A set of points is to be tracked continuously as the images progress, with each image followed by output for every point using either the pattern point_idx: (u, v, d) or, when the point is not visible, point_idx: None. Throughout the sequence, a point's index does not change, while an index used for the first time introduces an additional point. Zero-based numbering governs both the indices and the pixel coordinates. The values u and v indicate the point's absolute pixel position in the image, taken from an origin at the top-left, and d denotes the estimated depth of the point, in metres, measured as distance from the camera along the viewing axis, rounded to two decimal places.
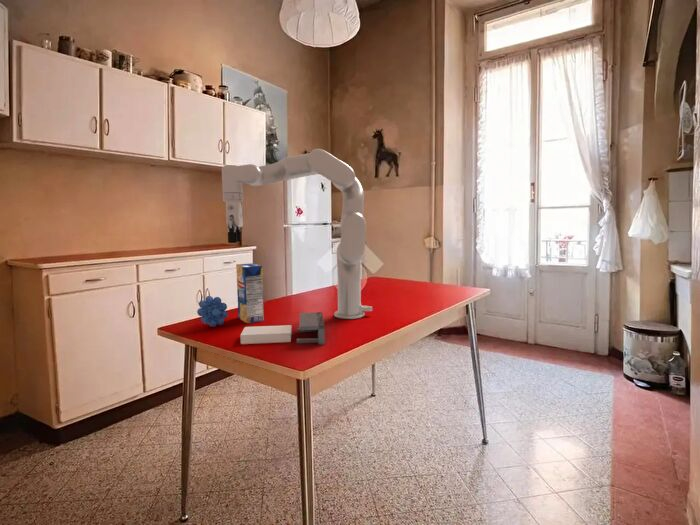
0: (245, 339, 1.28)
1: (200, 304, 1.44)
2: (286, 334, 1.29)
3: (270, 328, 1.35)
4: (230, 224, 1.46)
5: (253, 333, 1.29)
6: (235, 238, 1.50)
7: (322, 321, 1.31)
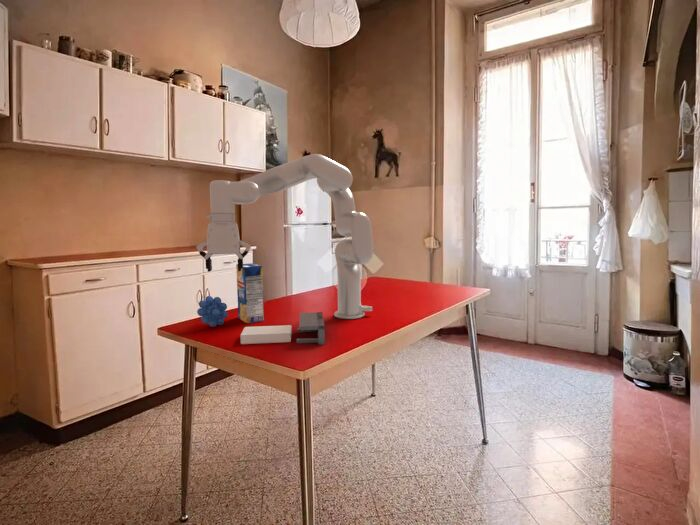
0: (245, 339, 1.28)
1: (200, 304, 1.44)
2: (286, 334, 1.29)
3: (270, 328, 1.35)
4: None
5: (253, 333, 1.29)
6: None
7: (322, 321, 1.31)
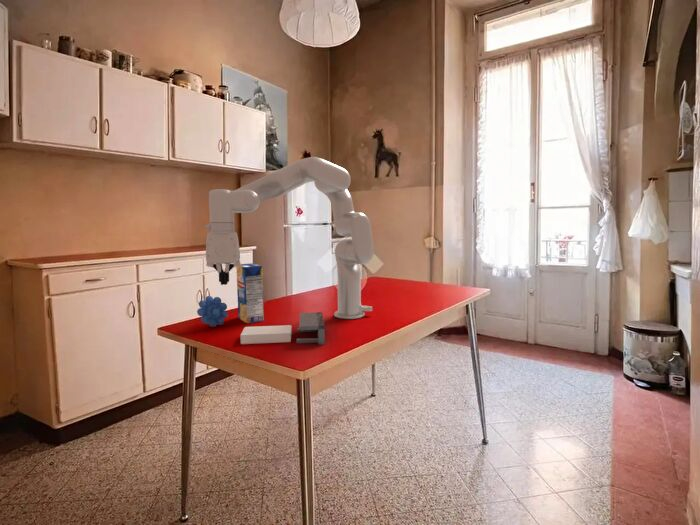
0: (245, 339, 1.28)
1: (200, 304, 1.44)
2: (286, 334, 1.29)
3: (270, 328, 1.35)
4: (210, 266, 1.28)
5: (253, 333, 1.29)
6: (220, 279, 1.28)
7: (322, 321, 1.31)
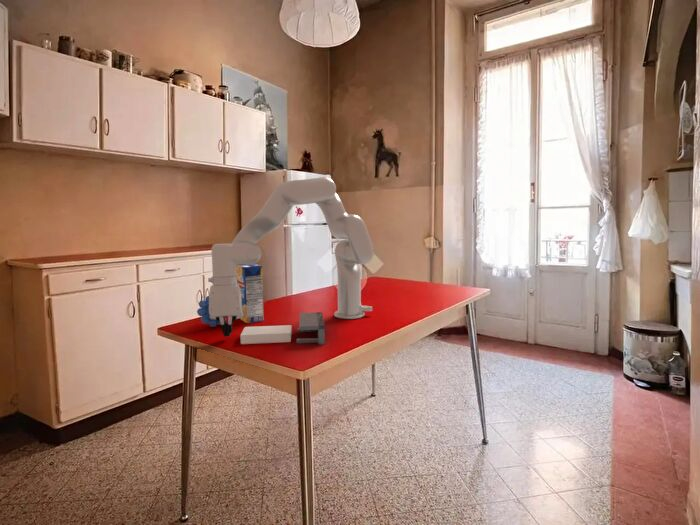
0: (245, 339, 1.28)
1: (200, 304, 1.44)
2: (286, 334, 1.29)
3: (270, 328, 1.35)
4: None
5: (253, 333, 1.29)
6: (224, 331, 1.30)
7: (322, 321, 1.31)
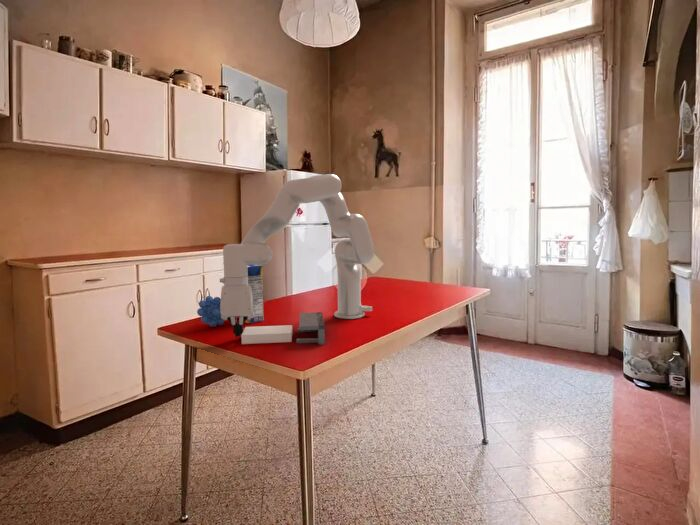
0: (246, 339, 1.28)
1: (200, 304, 1.44)
2: (287, 334, 1.29)
3: (271, 328, 1.35)
4: None
5: (254, 333, 1.29)
6: (235, 331, 1.31)
7: (322, 321, 1.31)
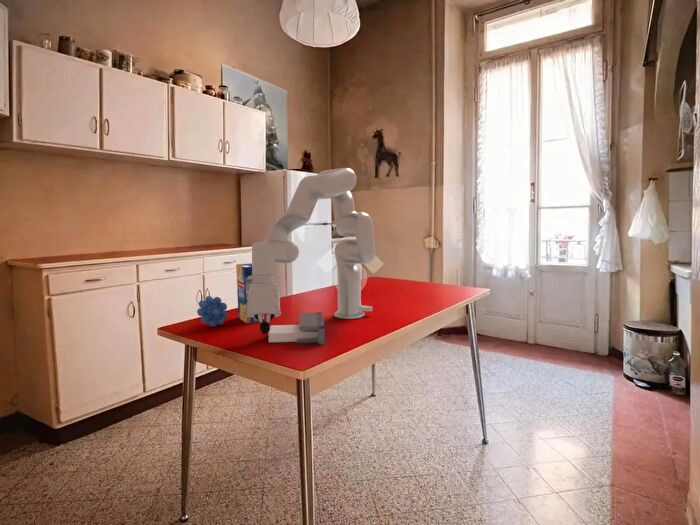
0: (273, 337, 1.28)
1: (200, 304, 1.44)
2: (314, 333, 1.30)
3: (296, 327, 1.35)
4: None
5: (281, 332, 1.30)
6: (262, 329, 1.31)
7: (322, 321, 1.31)
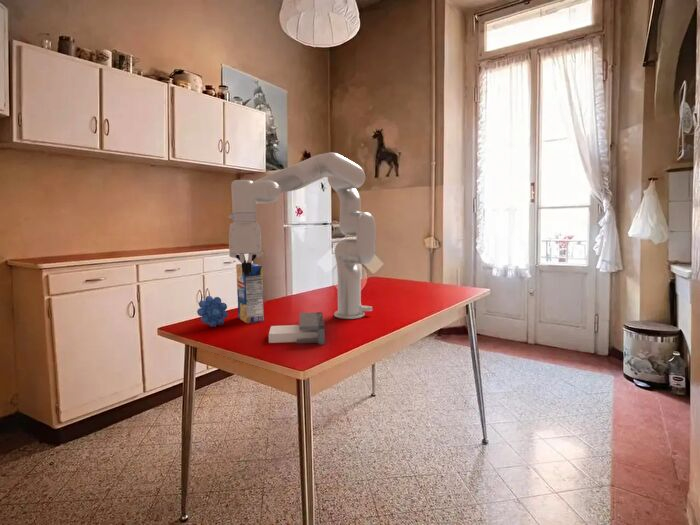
0: (273, 338, 1.29)
1: (200, 304, 1.44)
2: (314, 333, 1.30)
3: (297, 327, 1.36)
4: (233, 257, 1.29)
5: (281, 332, 1.30)
6: (244, 269, 1.29)
7: (322, 321, 1.31)
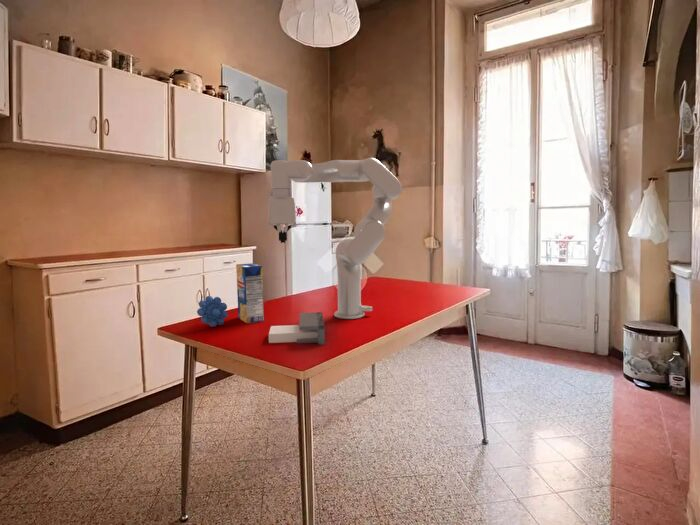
0: (273, 338, 1.29)
1: (200, 304, 1.44)
2: (314, 333, 1.30)
3: (297, 327, 1.36)
4: (271, 227, 1.50)
5: (281, 332, 1.30)
6: (280, 238, 1.50)
7: (322, 321, 1.31)
